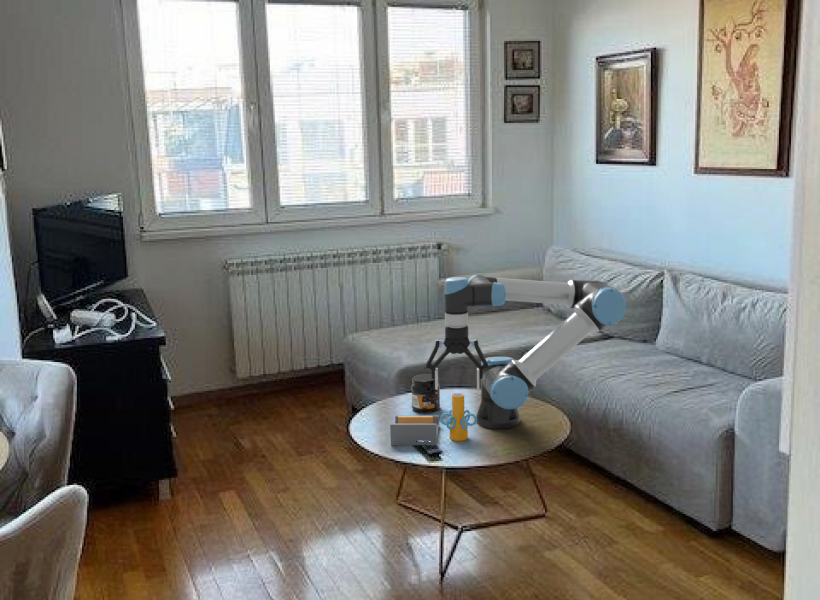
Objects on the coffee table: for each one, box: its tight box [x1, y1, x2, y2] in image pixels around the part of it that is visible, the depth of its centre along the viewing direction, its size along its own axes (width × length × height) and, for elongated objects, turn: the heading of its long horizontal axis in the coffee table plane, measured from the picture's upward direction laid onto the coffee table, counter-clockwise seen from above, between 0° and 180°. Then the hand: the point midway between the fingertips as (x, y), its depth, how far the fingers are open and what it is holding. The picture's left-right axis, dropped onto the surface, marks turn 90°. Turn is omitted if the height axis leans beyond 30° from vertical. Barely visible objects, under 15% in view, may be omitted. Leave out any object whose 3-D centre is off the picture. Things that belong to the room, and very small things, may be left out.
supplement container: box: [410, 373, 441, 414], centre depth 309 cm, size 10×10×12 cm
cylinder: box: [439, 392, 477, 442], centre depth 278 cm, size 12×10×15 cm
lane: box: [389, 414, 440, 446], centre depth 283 cm, size 15×18×7 cm
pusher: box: [398, 416, 433, 423], centre depth 284 cm, size 12×1×6 cm, turn 86°
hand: (457, 388), depth 277 cm, fingers open, 13 cm apart
